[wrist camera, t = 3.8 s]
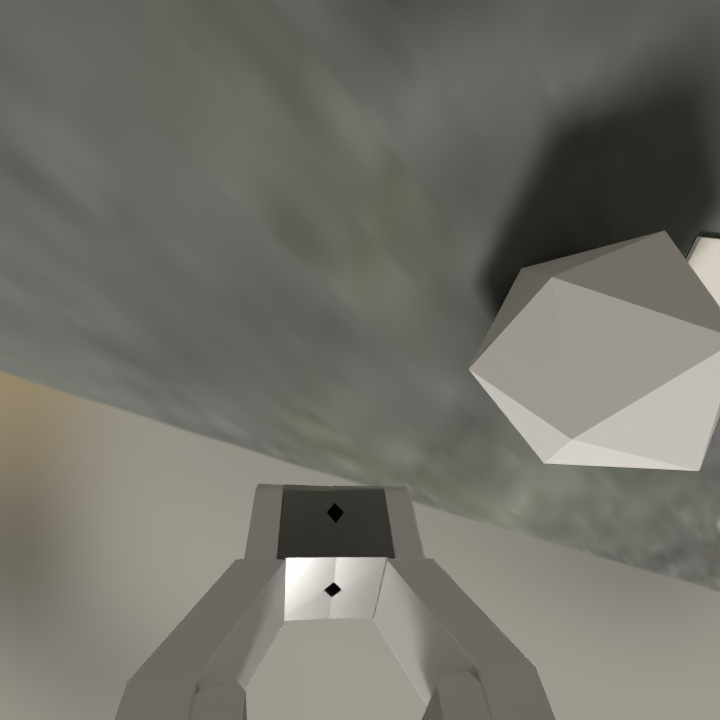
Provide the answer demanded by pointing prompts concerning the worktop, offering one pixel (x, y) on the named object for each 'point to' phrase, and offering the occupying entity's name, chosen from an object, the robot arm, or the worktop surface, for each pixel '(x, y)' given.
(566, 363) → the die
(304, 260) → the worktop surface
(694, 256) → the pad
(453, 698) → the robot arm
